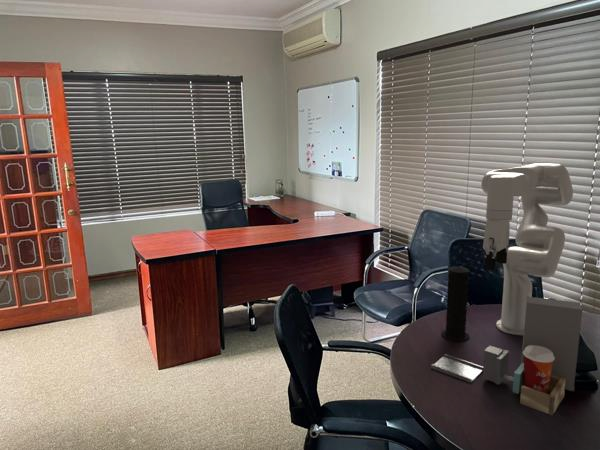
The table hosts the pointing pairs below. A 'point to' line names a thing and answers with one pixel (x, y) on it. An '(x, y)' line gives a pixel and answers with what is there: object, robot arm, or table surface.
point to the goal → (545, 396)
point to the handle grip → (456, 305)
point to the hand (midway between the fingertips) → (495, 266)
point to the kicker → (501, 368)
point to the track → (458, 368)
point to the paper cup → (537, 367)
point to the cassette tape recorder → (554, 333)
